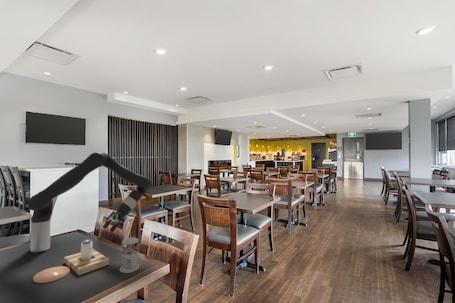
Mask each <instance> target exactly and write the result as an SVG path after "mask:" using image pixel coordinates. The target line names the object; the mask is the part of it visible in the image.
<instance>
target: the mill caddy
mask: <svg viewBox="0 0 455 303" xmlns="http://www.w3.org/2000/svg"><path fill="white" fill-rule="evenodd" d="M63 258H64V261H63V262H64V264H65V265H66V266H67V267H69V268H70V270H71V269H72V271H73V272H75V273H76V274H77V275H79V276H81V275H84V274H86V273H88V272H92V271H94V270H98V269H101V268H103V267H107V266H109V265H110V258H108V257H107V256H105V255H103V253H100V252H98V251H97V250H95V249H94V248H92V259H90V260H87V261H84V262H82V261H81V251H80V252H77V253H74V254H71V255H67V256H64V257H63Z"/></svg>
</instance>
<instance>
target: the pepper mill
mask: <svg viewBox="0 0 455 303" xmlns="http://www.w3.org/2000/svg"><path fill="white" fill-rule="evenodd" d="M92 249H93V241H92V239H84V240H82V242H81V243H80V252H81V261H82V262H84V261H87V260H90V259H92Z"/></svg>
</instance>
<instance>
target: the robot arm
mask: <svg viewBox="0 0 455 303" xmlns="http://www.w3.org/2000/svg"><path fill="white" fill-rule="evenodd" d="M101 167H104V168H107V169H109V170H111V171H112V172H113V173H114V174H115V175H117V176H118V177H119V178H120V179H122V180H124V181H126V182H127V183H130V184H134V185H136V187H135V188H134V189H133V190H132V191H131V192H129V193H128V195H127V196H126V197H125V198H124V199H123V200H122V202H120V204H119V205H117V207H116V210H117V211H115V210H113V211H112V212H111V213H110V214H109V215H108V216H107V218H105V219H106V222H105V223H104V224H103V225H102V228H103V229H105V230H106V229H107V228H108V227H109V226H110V225H111V224H112V222H114V224H113V225H112V226H111V228H110V229H109V231H110V232H111V233H113V232H115V231H116V229H117V228H118V227H121V226H122V225H124V223H125V221H126V220H127V219H128V215H129V214H130V213H131V212H132V211H133V209H134V208H135V206H136V205H137V204H138V202H140V200H141V199H142V198H143V196H144V194H145V193H147V191H148V190H149V189H150V187H151V185H152V182H151V180H150V178H148V177H146V176H144V175H141V174H138V173H137V172H134V171H133V170H131V169H130V168H127V167H126V166H124V165H122V164H121V163H119V162H118V161H116V160H115V159H113V157H111V156H110V155H109V154H108V153H106V152H104V151H101V150H99V151H96V152H92V153H91V154H90V155H88V156H87V157H86V158H85V159H84V160H83V161H82V162H80V163H79V164H78V165H76V166H75V167H73V168H71V169H70V170H69V171H67V172H65V173H64V174H63V175H61V176H60V177H59V178H57V179H56V180H54V181H53V182H52V183H51V184H49V185H47V187H46V188H44V189H43V190H41V191H39V192H38V193H36V194H34V195H33V196H31V197H30V198H29V199H28V201H27V208H28V209H29V210H30V211H34V212H35V213H34V214H33V215H31V218H30V252H31V253H40V252H44V251H47V250H50V248H51V218H52V215H53V209H54V208H53V207H54V200H53V199H55V198H57V197H59V196H61V195H63V194H65V193H66V192H69V191H70V190H72V189H73V188H75V187H76V186H77V185H78V184H80V183H81V182H82V181H83V179H84V178H86V176H87V175H89V174H90V173H91V172H93V171H95V170H97V169H99V168H101Z"/></svg>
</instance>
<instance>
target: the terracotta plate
mask: <svg viewBox="0 0 455 303" xmlns="http://www.w3.org/2000/svg"><path fill="white" fill-rule="evenodd" d="M70 272H71V268H70V267H69V266H62V265H61V266H53V267H49V268H45V269H43V270H41V271H39V272H38V273H37V272H36V274H34V276H33V277H32V278H33V279H32V281H33V282H34V283H37V284H46V283H52V282H55V281H58V280H61V279H63V278H64V277H66V276H68V275H69V274H70Z"/></svg>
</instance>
